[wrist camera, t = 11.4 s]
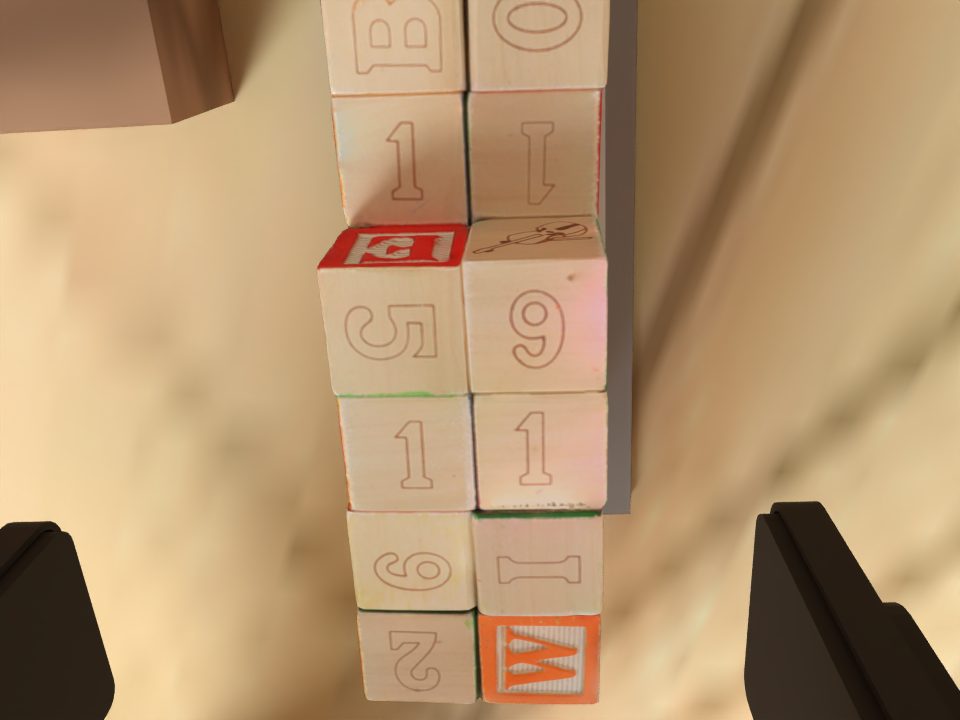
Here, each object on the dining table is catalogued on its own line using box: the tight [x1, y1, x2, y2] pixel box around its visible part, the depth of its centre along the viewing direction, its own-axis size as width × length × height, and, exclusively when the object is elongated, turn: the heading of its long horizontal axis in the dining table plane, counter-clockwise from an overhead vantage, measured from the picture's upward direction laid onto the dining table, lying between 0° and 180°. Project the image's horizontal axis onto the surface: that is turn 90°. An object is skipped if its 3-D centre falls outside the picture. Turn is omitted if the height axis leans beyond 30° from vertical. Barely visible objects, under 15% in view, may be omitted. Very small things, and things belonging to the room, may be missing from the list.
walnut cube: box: [0, 0, 234, 134], centre depth 25 cm, size 6×6×6 cm
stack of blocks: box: [317, 0, 610, 704], centre depth 23 cm, size 21×6×12 cm, turn 2°
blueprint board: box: [320, 0, 637, 514], centre depth 29 cm, size 25×10×1 cm, turn 4°
